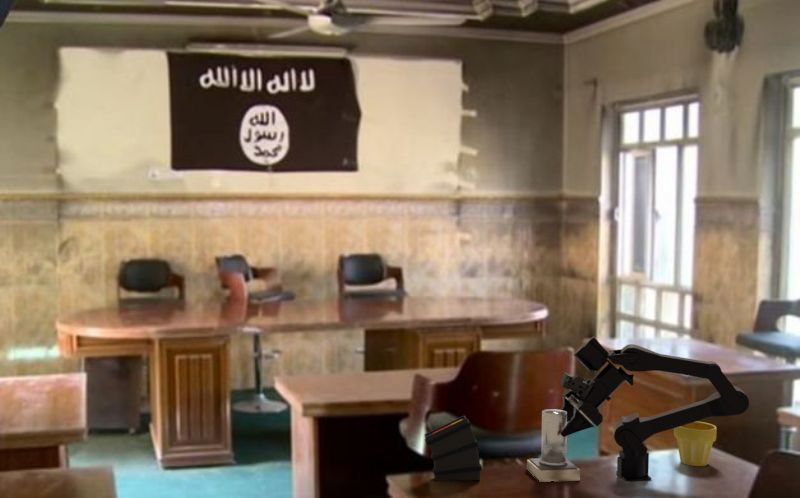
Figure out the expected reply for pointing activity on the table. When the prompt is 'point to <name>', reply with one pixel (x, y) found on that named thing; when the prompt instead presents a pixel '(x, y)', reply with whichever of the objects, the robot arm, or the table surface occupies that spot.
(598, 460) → the table surface
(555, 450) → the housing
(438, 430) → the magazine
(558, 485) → the table surface
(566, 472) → the stand
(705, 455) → the plant pot
